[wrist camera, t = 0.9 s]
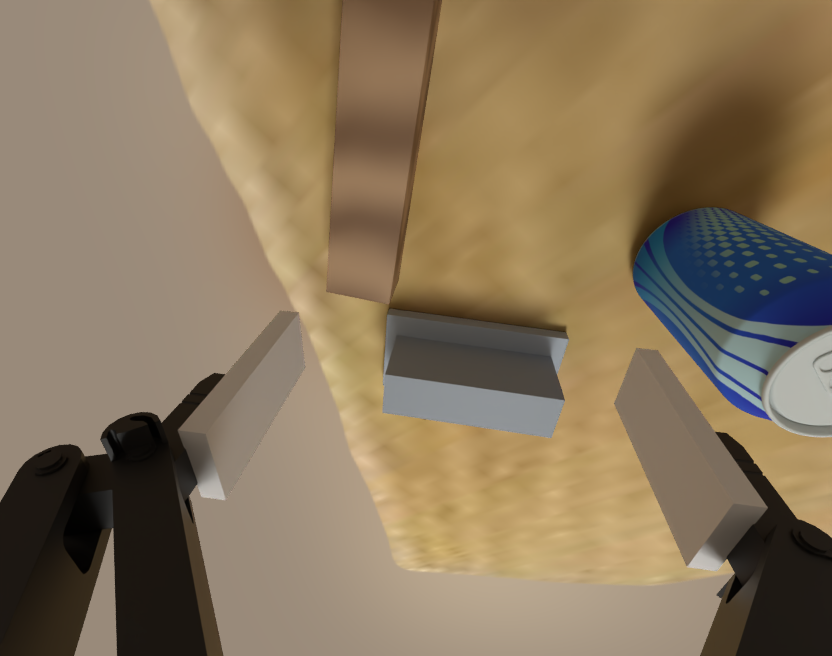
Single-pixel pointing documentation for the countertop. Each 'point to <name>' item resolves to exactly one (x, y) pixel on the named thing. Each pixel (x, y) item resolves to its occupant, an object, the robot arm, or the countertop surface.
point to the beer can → (746, 312)
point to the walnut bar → (377, 140)
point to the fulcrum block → (473, 372)
